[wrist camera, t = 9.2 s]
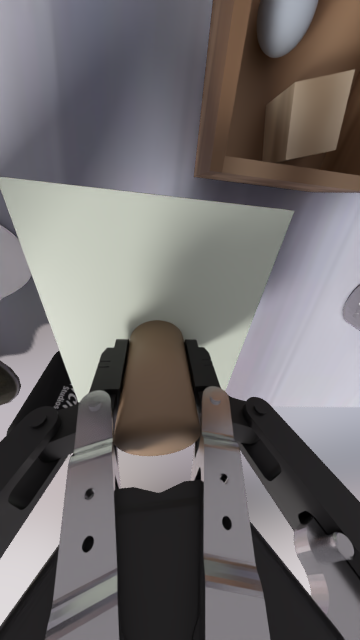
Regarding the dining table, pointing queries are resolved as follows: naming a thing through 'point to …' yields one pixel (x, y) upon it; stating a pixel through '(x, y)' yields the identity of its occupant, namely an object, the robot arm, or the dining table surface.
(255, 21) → the box
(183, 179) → the dining table surface
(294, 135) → the maple cube
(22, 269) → the water bottle
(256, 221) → the lid
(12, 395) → the lantern
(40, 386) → the beverage can
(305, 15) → the ball slate
